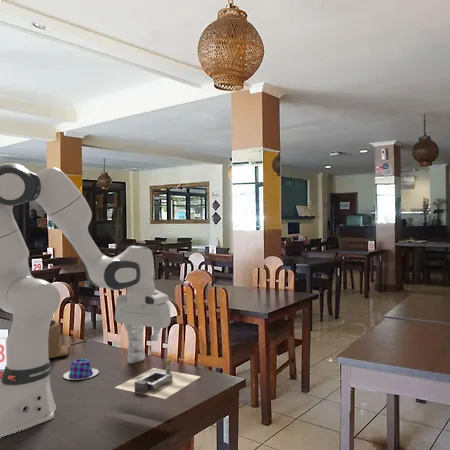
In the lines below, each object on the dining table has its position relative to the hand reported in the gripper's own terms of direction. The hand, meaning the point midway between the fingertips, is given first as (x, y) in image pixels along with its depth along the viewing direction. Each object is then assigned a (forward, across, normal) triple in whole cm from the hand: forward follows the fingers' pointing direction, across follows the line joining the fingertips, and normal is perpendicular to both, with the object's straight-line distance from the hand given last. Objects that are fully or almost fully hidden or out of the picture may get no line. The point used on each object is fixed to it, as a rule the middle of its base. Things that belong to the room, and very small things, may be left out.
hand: (142, 338), depth 142 cm
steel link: (+15, +3, +2) cm, 15 cm away
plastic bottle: (+17, -19, +19) cm, 32 cm away
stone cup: (+17, -55, +10) cm, 58 cm away
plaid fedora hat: (+17, -29, +1) cm, 34 cm away
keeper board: (+16, +3, +4) cm, 17 cm away
